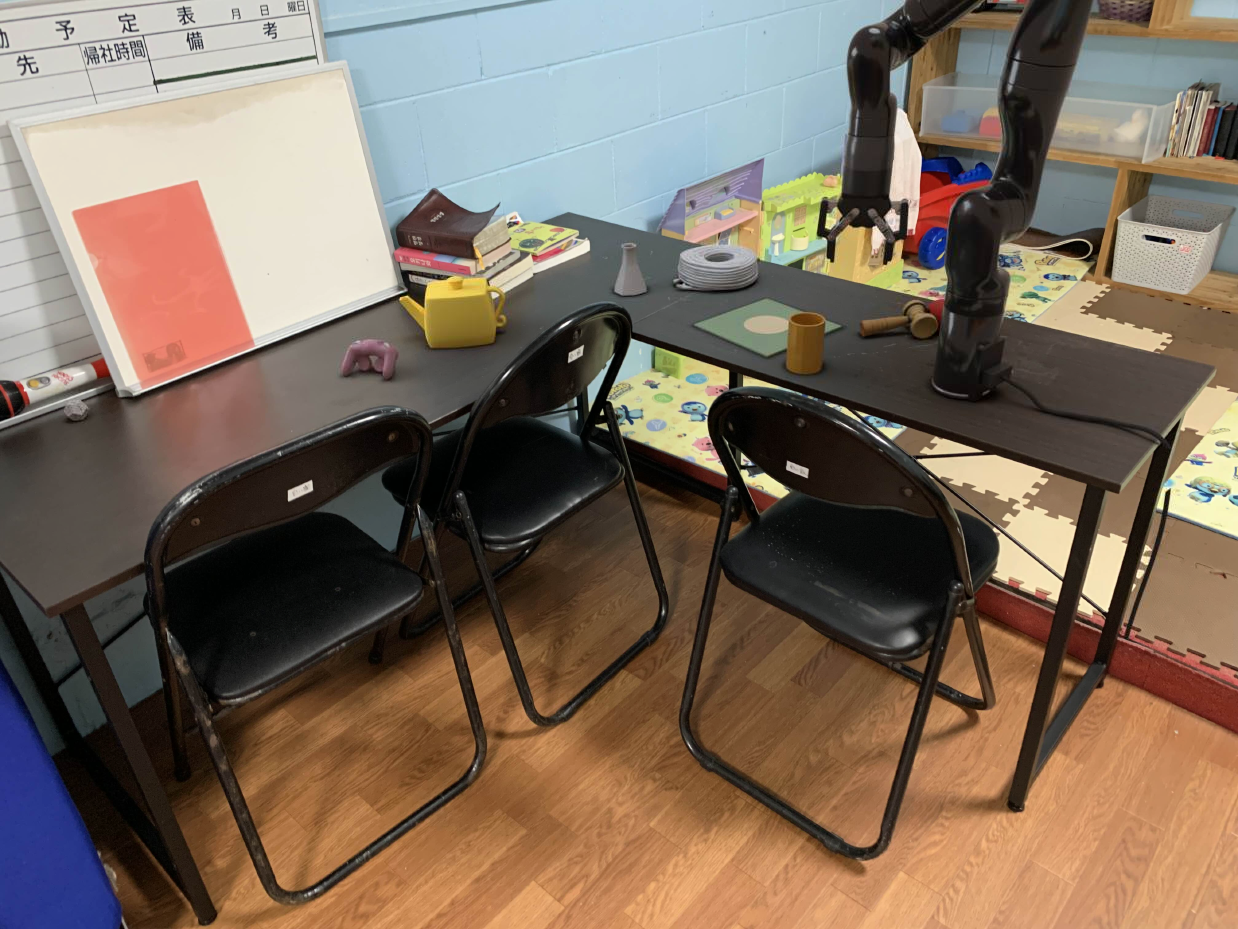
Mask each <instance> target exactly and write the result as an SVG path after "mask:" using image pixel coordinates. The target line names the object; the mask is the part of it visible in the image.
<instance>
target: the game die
mask: <svg viewBox="0 0 1238 929" xmlns="http://www.w3.org/2000/svg"><path fill="white" fill-rule="evenodd" d="M89 410H90V408H89V407H88V406H87V405H86V403H85V402H83V401H82V400H81V399H79V398H78V399H71V400H69V401H68V402H66V404H65V406H64V409H63V413H64V414H65V415H66V416H67V417H68V418H69V419H70V420H72V421H73V422H75V421H83V420H84V419H85V418H86V417H87V416H88V413H89Z"/></svg>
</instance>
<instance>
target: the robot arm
mask: <svg viewBox="0 0 1238 929" xmlns="http://www.w3.org/2000/svg"><path fill="white" fill-rule="evenodd" d="M985 1H986V0H905V1H904V4H903V5H902V6H900V7H899V8H898V9H897V10H896V11H894V12H893V13H892V14H890V15H889V16H888V17H886V18H885V19H883V20H881V21H880V22H877V23H873V24H869V25H866V26H863V27H862V28H860V29H859V30H857V31H856V32H855V34H853V36H852V38H851V39H850V41H849V45H848V47H847V48H848V49H847V53H846V62H845V64H846V65H845V66H846V79H847V89H848V95H849V99H850V108H849V114H848V116H849V117H848V129H847V137H846V141H845V145H844V155H843V168H842V169H843V170H842V180H841V191H840V195H839V196H840V197H839V198H838V199H832V198H829V197H827V196H823V197H822V198H821V200H820V206H819V213H818V219H817V229H816V236H817V237H819V238H824V239H825V240H826V252H825V257H826V260H829V263H831V264H834V263H835V258H836V247H837V246H836V245H837V237H838V236H839V235H840V234H841V233H842V232H843V231H844V230H846V228H847V227H848V226H849V227H852V229H859V228H865V229H873V228H874V227H876V228H877V229H878V231H879V232H880V233H881V234H882V235H883V237H884V246H883V255H882V256H883V257H882V266H888V263H890V262H892V260H893V256H894V248H895V243H896V242H898V241H900V240H901V241H904V240H906V239H907V238H908V226H909V225H908V224H909V209H910V205H909V200H908V199H907V198H902V199H901V200H891V198H890V195H891V184H892V177H893V168H894V161H895V148H896V143H895V136H896V133H895V132H896V125H897V115H898V98H897V96H896V95H895V94H894V93H893V92H891V72H892V71H895V70H896V69H899V68H900V67H901V66H903V65H904V64H906V63H907V62H908V61H909V60H911V59H913V57H915V55H917V54H918V53H919V52H920V51H921V50H922V49H924V47H926V46H927V45H928V44H929V43H930V42H931V41H932V40H933V39H934V38H936V37H938V36H940V35H941V34H942V33H943V34H944V32H945V31H947V30H949V28H951V27H952V26H954V25H955V24H956V23H958V22H959V21H961V20H962V19H964V18H965V17H966V16H967V15H969V14H970V13H972V12H973V11H974V10H975V9H976V8H978V7H979V6H980V5H982V4H983V3H984V2H985ZM1094 1H1095V0H1027V2H1026V4H1025V5H1024V8H1023V10H1022V12H1021V14H1020V16H1019V18H1018V20H1017V22H1016V25H1015V27H1014V29H1013V31H1012V33H1011V36H1010V39H1009V42H1008V44H1007V48H1006V52H1005V56H1004V59H1003V62H1002V67H1001V70H1000V73H999V77H998V81H997V85H996V86H997V87H996V106H997V108H996V109H997V114H998V119H999V125H1000V131H1001V145H1000V151H999V155H998V158H997V162H996V164H995V168H994V171H993V173H992V176H991V179H990V181H989V183H988V184H985V185H983V186H978V187H976V188H972V189H969V190H966V191H964V192H963V193H961V194H960V195H959V196H958V197H957V198H956V199H955V200H954V202H953V205H952V207H951V210H950V214H949V217H948V222H947V228H946V229H947V231H946V242H945V251H944V252H945V253H944V272H945V274H946V280H947V281H946V287H945V293H944V299H945V300H944V306H943V313H942V320H941V326H940V331H939V334H938V339H937V340H938V341H937V346H936V348H937V349H936V354H935V359H934V370H933V374H932V378H931V387H932V389H933V390H934V391H936V393H939V394H940V395H943V396H945V397H948V398H952V399H958V400H967V401H971V402H977V401H978V400H980V399H982V398H984V397H986V396H989V395H990V394H992V393H994V392H996V391H997V386H998V385H1000V384H1002V383H1004V382H1006V383H1007V384H1010V386H1012V387H1014V388H1016V389H1017V390H1019V391H1021V392H1022V393H1023V394H1024V395H1026V396H1027V397H1028V398H1029V399H1030V400H1031V401H1032V403H1033V404H1034V405H1035V406H1036V407H1037V408H1038V409H1040V410H1041V411H1043V412H1046V413H1048V414H1051V415H1055V416H1061V417H1068V418H1075V419H1079V420H1086V421H1092V422H1100V423H1104V424H1109V425H1113V426H1117V427H1121V428H1127V429H1132V430H1137V431H1141V432H1144V433H1147V434H1149V435H1151V436H1152V437H1154V438H1155V439H1157V441H1159V443H1161V445H1162V446H1163V447H1164V448H1165V449H1168V450H1170V449H1172V446H1171V445H1170V443H1169V442H1168V441H1167V439H1165V438H1164V436H1163V435H1161V434H1160V433H1159V432H1157V431H1156V430H1154V429H1152V428H1150V427H1147V426H1144V425H1139V424H1136V423H1129V422H1124V421H1119V420H1115V419H1112V418H1107V417H1102V416H1097V415H1096V416H1095V415H1087V414H1082V413H1076V412H1072V411H1071V412H1070V411H1063V410H1057V409H1053V408H1050V407H1048V406H1045V405H1043V404H1042V403H1041V402H1040V401H1039V400H1038V399H1037V398H1036V396H1035V395H1034V394H1033V393H1032V392H1031V391H1030V390H1028V389H1027V388H1026V387H1024V386H1022V385H1021V384H1020V383H1018V382H1016V381H1014V380H1013V379H1011V378H1012V377H1011V376H1012V372H1013V367H1014V365H1013V364H1010V363H1007V362H1004V361H1002V360H1003V354H1004V349H1005V344H1006V337H1005V336H1002V335H1001V333H1002V329H1003V323H1004V318H1005V313H1006V309H1007V308H1006V307H1007V302H1008V297H1009V291H1010V285H1011V280H1012V279H1011V278H1012V276H1011V274H1010V272H1009V271H1008V270H1007V269H1006V268H1004V267H1002V266H999V255H1000V247H1001V246H1004V245H1005V244H1009V243H1011V242H1013V241H1016V240H1017V239H1019V238H1020V237H1022V236H1023V235H1024V234H1025V233H1026V232H1027V231H1028V229H1029V227H1030V226H1031V223H1032V221H1033V218H1034V215H1035V211H1036V208H1037V204H1038V198H1039V194H1040V189H1041V183H1042V179H1043V174H1044V170H1045V165H1046V160H1047V156H1048V153H1049V150H1050V147H1051V144H1052V140H1053V137H1054V134H1055V131H1056V128H1057V125H1058V122H1059V118H1060V115H1061V111H1062V107H1063V105H1064V102H1065V99H1066V96H1067V94H1068V91H1069V88H1070V86H1071V83H1072V79H1073V77H1074V73H1075V70H1076V67H1077V63H1078V61H1079V58H1080V54H1081V50H1082V46H1083V43H1084V39H1085V36H1086V32H1087V28H1088V25H1089V21H1090V18H1091V15H1092V10H1093V6H1094ZM835 208H836V209H837V210H838V212H839V213H840V215H841V216H840V217H838V219H837V220H836V222H835V223H834V225H832V227H831V228H827V227H826V224H827V216H828V214H831V213H832V212H833V210H834V209H835ZM891 210H894V213H895V215H896V216H899V220H898V222H899V223H898V224H899V225H898V229H897V230H895V231H894V230H893V229H892V228H891V226H890V224H889V222H888V221H887V219H886V215H888V214H889V212H890V211H891ZM1171 494H1172V487H1169V489H1167V490H1166V491H1164V499H1163V504H1162V510H1161V517H1160V522H1159V526H1158V531H1157V534H1156V537H1155V541H1154V544H1153V548H1152V551H1151V554H1150V557H1149V560H1148V563H1147V566H1146V569H1145V571H1144V575H1143V577H1142V579H1141V583H1140V586H1139V589H1138V592H1137V594H1136V596H1135V600H1134V603H1133V605H1132V609H1131V612H1130V614H1129V618H1128V621H1127V624H1126V627H1125V630H1124V633H1123V634H1124V635H1123V639H1124V640H1126V641H1127V640H1129V638H1130V634H1131V631H1132V628H1133V624H1134V621H1135V619H1136V615H1137V612H1138V609H1139V606H1140V603H1141V600H1142V597H1143V594H1144V592H1145V589H1146V587H1147V584H1148V581H1149V579H1150V575H1151V572H1152V570H1153V567H1154V565H1155V562H1156V559H1157V556H1158V552H1159V549H1160V545H1161V542H1162V539H1163V535H1164V531H1165V527H1166V523H1167V517H1168V512H1169V508H1170V500H1171Z"/></svg>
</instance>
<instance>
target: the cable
mask: <svg viewBox="0 0 1238 929" xmlns="http://www.w3.org/2000/svg"><path fill="white" fill-rule="evenodd" d="M678 261H679V262H678V266H677V273H678V274H677V275H678V278H675V279H673V281H672V283H673V284H674V285H675V287H676V289H679V290H683V291H692V290H693V291H699V292H701V291H702V292H706V291H708V292H709V291H728V290H729V291H730V290H738V289H739V290H740V289H743V288H745V287H748V286H750V285H751V284H753V283H754V282H755V281H756V280H757V278H758V276H759V269H758V266H759V265H758V256H757V254H756V252H755V251H753V250H752V249H750V248H748V247H745V246H741V245H735V244H707V245H701V246H697V247H692V248H690V249H689V248H688V249H686V250H684V251H682V252H681V253H680V254H679V260H678ZM682 282H683V283H682ZM680 283H682V284H680Z"/></svg>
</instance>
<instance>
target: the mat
mask: <svg viewBox="0 0 1238 929" xmlns="http://www.w3.org/2000/svg"><path fill="white" fill-rule="evenodd" d="M802 312H803V311H802V310H799V309H797V308H794V307H791V306H789V305H786V304H784V303H780V302H778V301H775V300H773V299H769V298H764V299H761V300H758V301H756V302H753V303H750V304H747V305H744V306H741V307H739V308H736V309H732V310H730V311H727V312H725V313H722V314H719V315H716V316H714V317H711V318H707V319H705V320H702V321H700V322H696V323H694V324H693V327H695V328H697V329H700V330H702V331H704V332H707V333H709V334H711V335H714V336H715V337H718V338H721V339H723V340H726V341H728V342H730V343H733V344H734V345H736V346H739V347H742V348H744V349H746V350H747V351H748V350H749V351H751V352H753V353H756V354H757V355H760V356H763V357H765V358H770V357H772V356H775V355H777V354H780V353H783V352H785V351H787V338H788V320H789V317H790V316H791V315H793V314H796V313H802ZM825 320H826V322H825V335H827V334H830V333H832V332H835V331H837V330H840V329H842V327H843V326H842V325H840V324H838V323H835V322H832V321H829V320H827V319H825Z"/></svg>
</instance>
